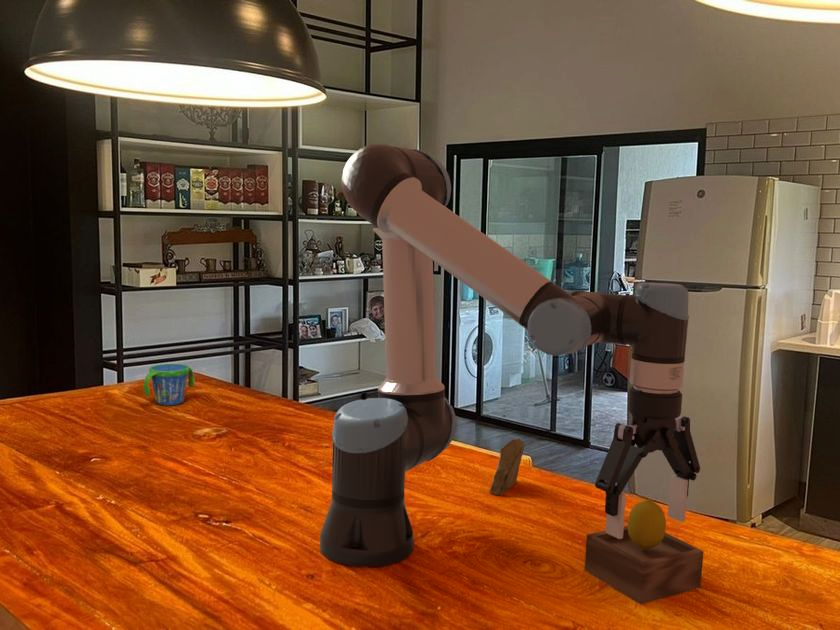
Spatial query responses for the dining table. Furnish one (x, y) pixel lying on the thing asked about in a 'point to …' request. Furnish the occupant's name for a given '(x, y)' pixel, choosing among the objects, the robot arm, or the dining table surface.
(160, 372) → the snack cup
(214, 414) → the dining table surface
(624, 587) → the walnut block
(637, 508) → the lemon
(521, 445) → the rock
